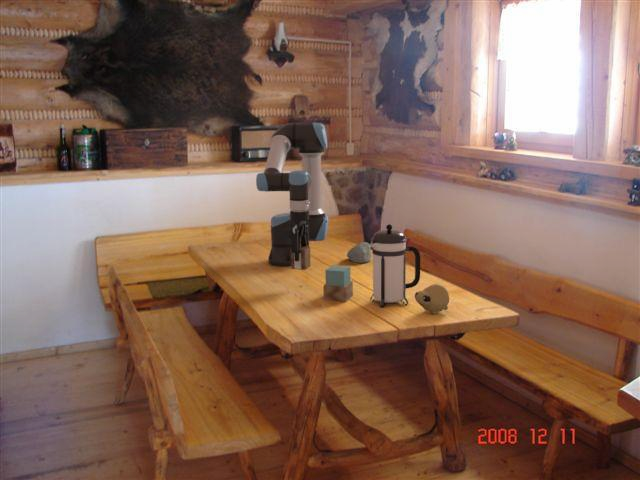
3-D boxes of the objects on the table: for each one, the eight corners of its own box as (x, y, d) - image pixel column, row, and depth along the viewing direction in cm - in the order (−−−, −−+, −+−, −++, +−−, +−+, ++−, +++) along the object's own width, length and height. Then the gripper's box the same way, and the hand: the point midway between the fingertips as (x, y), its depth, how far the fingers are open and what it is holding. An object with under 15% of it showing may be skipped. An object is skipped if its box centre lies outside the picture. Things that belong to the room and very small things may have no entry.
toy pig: (410, 311, 249) (410, 283, 247) (438, 306, 254) (438, 278, 252) (425, 319, 240) (425, 289, 238) (454, 314, 245) (454, 285, 243)
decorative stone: (377, 263, 320) (376, 243, 324) (358, 257, 315) (358, 238, 319) (360, 271, 330) (360, 252, 334) (342, 266, 324) (342, 247, 329)
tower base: (323, 300, 265) (323, 285, 263) (331, 294, 273) (330, 279, 272) (346, 302, 262) (345, 287, 260) (352, 296, 270) (352, 281, 269)
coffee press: (401, 311, 250) (401, 230, 243) (362, 304, 258) (361, 226, 252) (420, 298, 264) (421, 221, 258) (383, 293, 272) (383, 218, 266)
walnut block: (291, 268, 276) (290, 249, 274) (296, 264, 282) (296, 245, 280) (305, 269, 274) (304, 250, 273) (310, 265, 280) (310, 246, 278)
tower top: (325, 285, 264) (325, 270, 263) (332, 280, 271) (332, 265, 270) (344, 286, 261) (344, 271, 260) (350, 281, 268) (350, 266, 267)
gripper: (299, 215, 263) (301, 273, 268) (316, 206, 280) (317, 261, 285) (281, 214, 265) (283, 272, 271) (299, 205, 283) (300, 259, 288)
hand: (301, 266), depth 278 cm, fingers closed on walnut block, 6 cm apart
